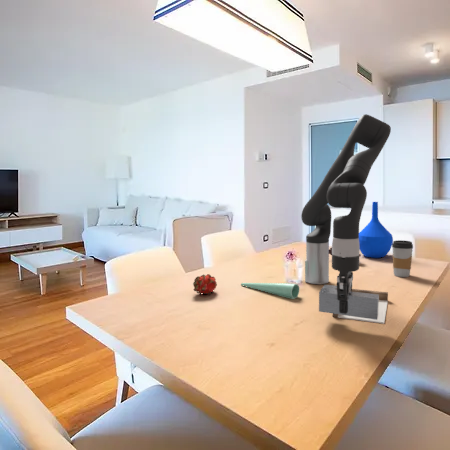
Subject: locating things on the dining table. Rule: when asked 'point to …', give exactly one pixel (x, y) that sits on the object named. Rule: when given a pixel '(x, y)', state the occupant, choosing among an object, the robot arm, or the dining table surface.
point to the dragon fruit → (204, 284)
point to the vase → (375, 237)
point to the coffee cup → (402, 257)
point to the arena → (381, 294)
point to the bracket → (349, 303)
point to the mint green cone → (276, 288)
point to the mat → (380, 319)
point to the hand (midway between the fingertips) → (344, 310)
